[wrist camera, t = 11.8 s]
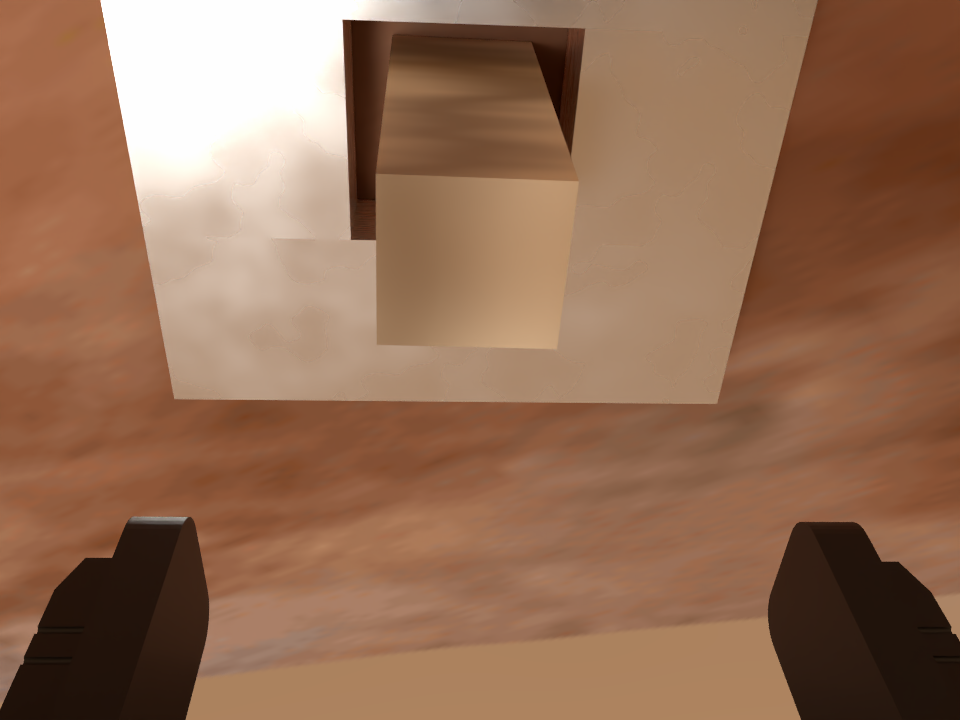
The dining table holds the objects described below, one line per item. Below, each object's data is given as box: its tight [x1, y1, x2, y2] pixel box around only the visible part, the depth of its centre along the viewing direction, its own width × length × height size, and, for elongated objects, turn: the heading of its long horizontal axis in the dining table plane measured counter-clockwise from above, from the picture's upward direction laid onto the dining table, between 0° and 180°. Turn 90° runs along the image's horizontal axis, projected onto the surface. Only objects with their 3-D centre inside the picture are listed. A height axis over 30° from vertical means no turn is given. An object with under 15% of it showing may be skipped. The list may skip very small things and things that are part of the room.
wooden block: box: [376, 35, 579, 349], centre depth 23 cm, size 4×4×10 cm
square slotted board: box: [101, 0, 818, 404], centre depth 26 cm, size 18×18×3 cm
